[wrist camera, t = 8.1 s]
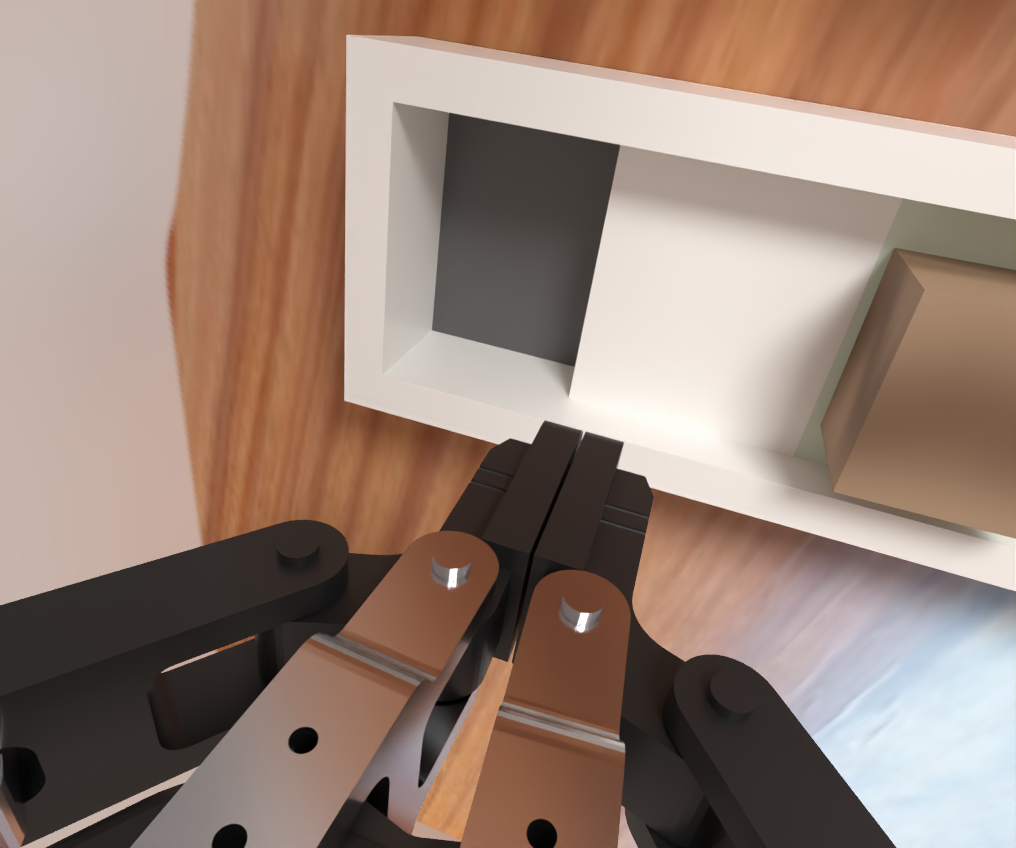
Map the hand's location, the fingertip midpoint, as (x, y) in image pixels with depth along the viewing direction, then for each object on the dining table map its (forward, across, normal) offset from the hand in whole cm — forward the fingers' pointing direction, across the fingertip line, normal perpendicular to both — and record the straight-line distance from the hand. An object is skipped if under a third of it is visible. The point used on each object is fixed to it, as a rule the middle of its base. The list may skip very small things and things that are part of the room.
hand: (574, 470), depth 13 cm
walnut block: (+11, -10, 0) cm, 15 cm away
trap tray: (+14, -6, 0) cm, 16 cm away
